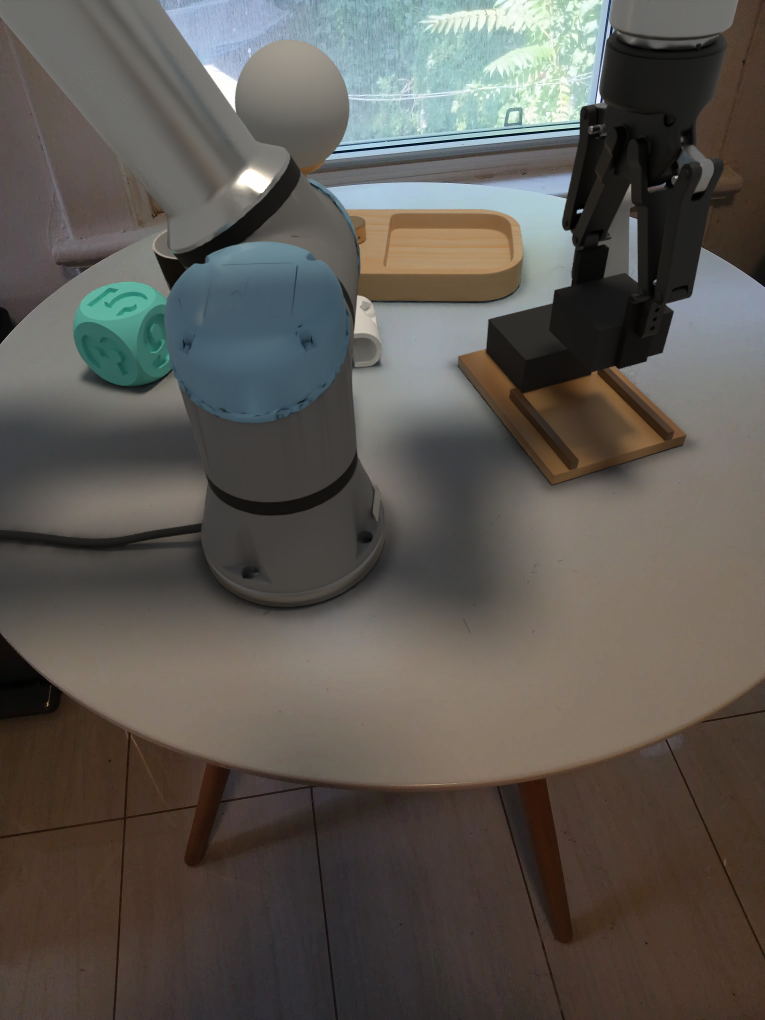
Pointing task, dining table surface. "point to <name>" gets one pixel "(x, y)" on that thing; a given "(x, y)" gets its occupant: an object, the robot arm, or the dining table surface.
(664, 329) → the black rectangular block
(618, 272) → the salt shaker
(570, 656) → the dining table surface
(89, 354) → the decorative dice
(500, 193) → the dining table surface
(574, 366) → the pad
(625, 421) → the tray
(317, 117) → the lamp
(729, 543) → the dining table surface
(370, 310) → the plastic part
